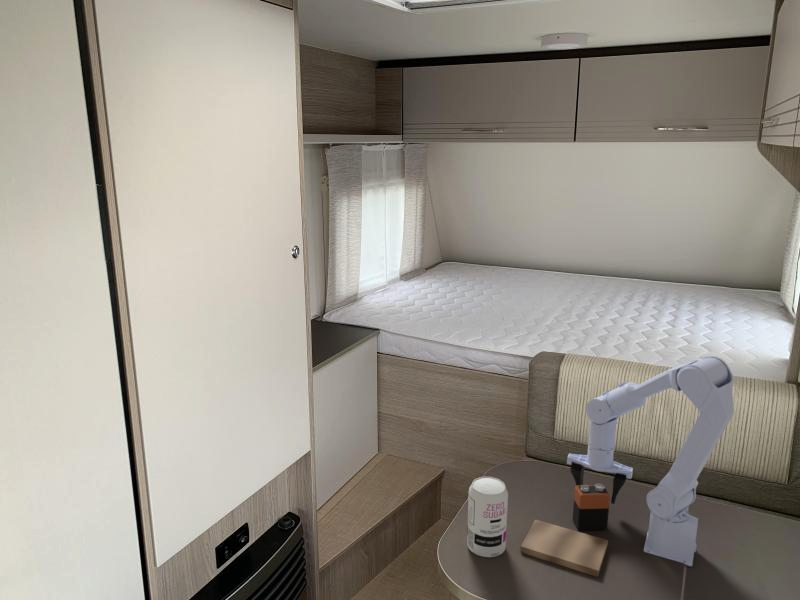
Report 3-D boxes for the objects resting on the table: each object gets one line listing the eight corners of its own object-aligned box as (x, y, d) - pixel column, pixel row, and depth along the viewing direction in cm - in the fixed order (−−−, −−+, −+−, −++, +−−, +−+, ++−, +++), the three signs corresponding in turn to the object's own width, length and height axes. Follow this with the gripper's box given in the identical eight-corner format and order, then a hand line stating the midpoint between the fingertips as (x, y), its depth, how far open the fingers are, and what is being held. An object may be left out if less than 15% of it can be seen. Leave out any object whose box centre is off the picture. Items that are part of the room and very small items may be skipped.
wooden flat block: (607, 546, 128) (608, 540, 127) (598, 577, 118) (598, 570, 118) (534, 525, 135) (535, 519, 135) (520, 552, 126) (520, 546, 125)
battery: (607, 530, 133) (611, 491, 131) (578, 531, 133) (581, 491, 131) (600, 519, 137) (603, 480, 135) (571, 520, 137) (574, 481, 135)
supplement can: (482, 531, 133) (484, 471, 129) (513, 548, 127) (516, 485, 124) (459, 547, 127) (461, 484, 124) (490, 565, 122) (492, 500, 118)
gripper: (636, 444, 137) (631, 497, 140) (573, 431, 144) (569, 481, 147) (632, 458, 131) (626, 512, 134) (566, 443, 138) (562, 495, 141)
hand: (596, 497), depth 140 cm, fingers open, 7 cm apart
